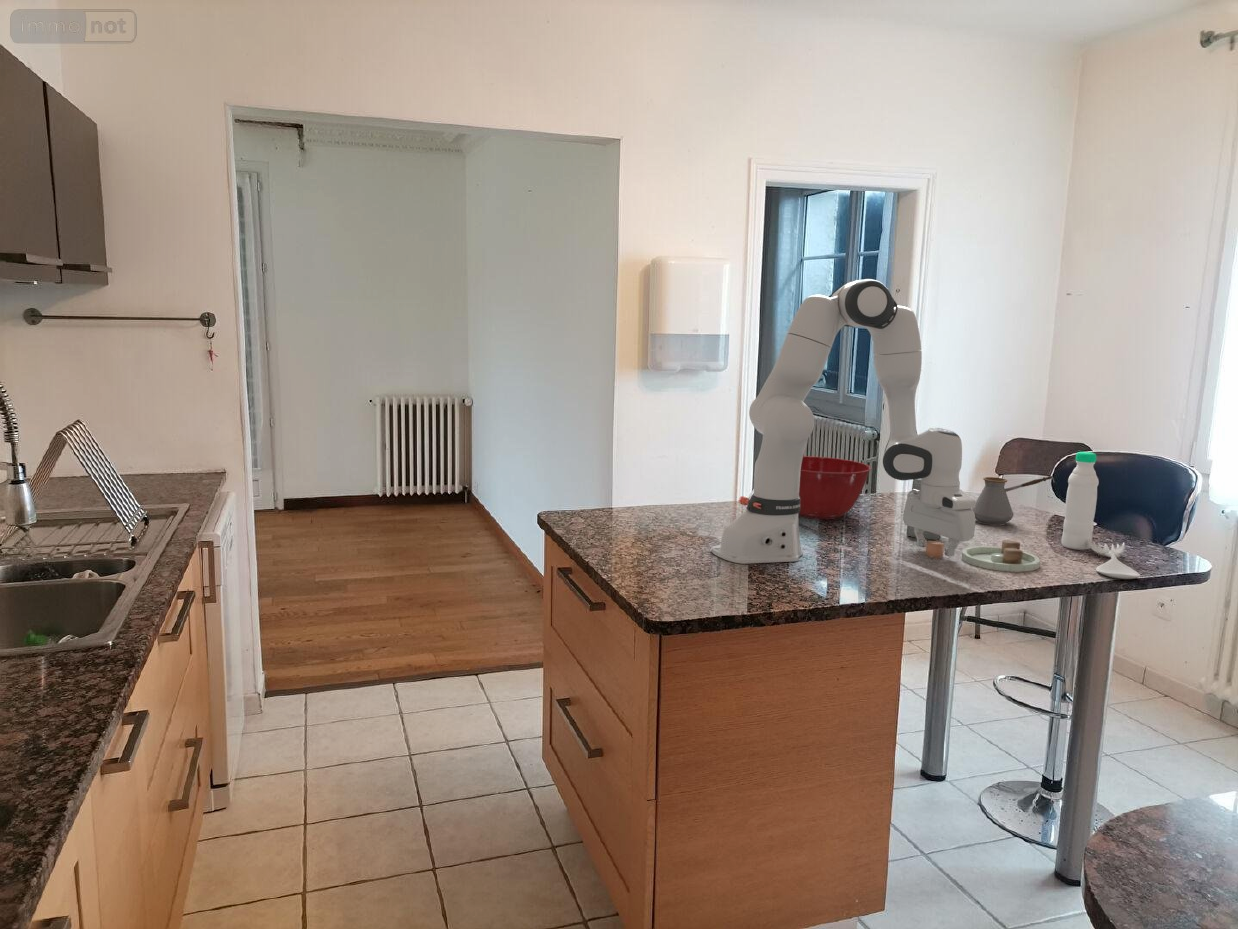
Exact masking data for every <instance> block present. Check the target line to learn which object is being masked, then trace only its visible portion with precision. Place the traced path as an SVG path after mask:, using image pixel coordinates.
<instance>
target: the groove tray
mask: <svg viewBox="0 0 1238 929" xmlns="http://www.w3.org/2000/svg"><path fill="white" fill-rule="evenodd" d="M1001 549H1002V546H990V545H989V546H988V545H987V546H986V545H977V546H967V547H966V548H962V551H961V560H962V561H964V562H965V563H967V564H969V565H973V566H976V567H979V568H982V569H988V570H993V571H1001V572H1002V571H1003V572H1012V573H1013V572H1015V573H1017V572H1019V573H1021V572H1022V573H1023V572H1031V571H1032V572H1033V571H1035V570H1037V569H1039V568H1040V564H1041V562H1040V561H1041V560H1040V558H1039V557H1038V556H1036V555H1034V554H1032V553H1031V552H1027V551H1023V550H1022V551H1023V553H1022V563H1021V564H1006V563H1003V555H1004V554H1001Z"/></svg>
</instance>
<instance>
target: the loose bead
mask: <svg viewBox="0 0 1238 929" xmlns="http://www.w3.org/2000/svg"><path fill="white" fill-rule="evenodd" d="M944 546H945V544H944V543H942V542H939V541H935V540H934V541H933V540H932V541H931V540H930V541H927V543H926V547H925V556H927V557H930V558H942V557H943V556H944V550H945V547H944Z"/></svg>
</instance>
